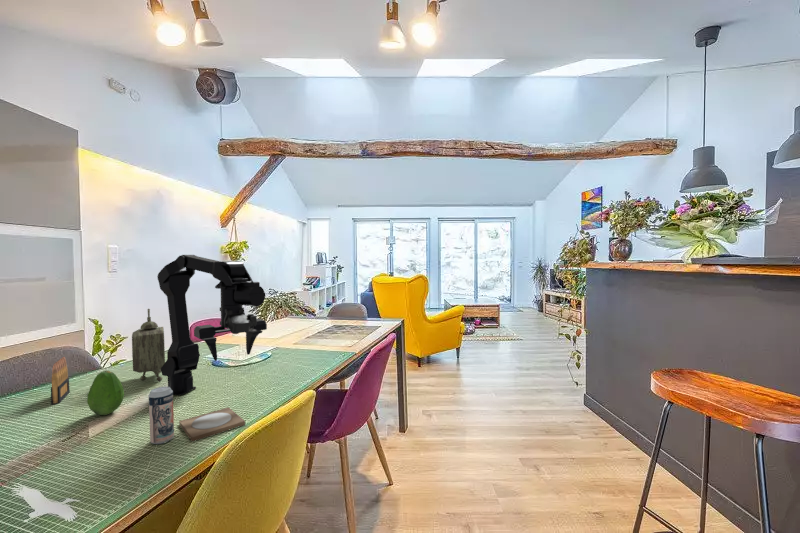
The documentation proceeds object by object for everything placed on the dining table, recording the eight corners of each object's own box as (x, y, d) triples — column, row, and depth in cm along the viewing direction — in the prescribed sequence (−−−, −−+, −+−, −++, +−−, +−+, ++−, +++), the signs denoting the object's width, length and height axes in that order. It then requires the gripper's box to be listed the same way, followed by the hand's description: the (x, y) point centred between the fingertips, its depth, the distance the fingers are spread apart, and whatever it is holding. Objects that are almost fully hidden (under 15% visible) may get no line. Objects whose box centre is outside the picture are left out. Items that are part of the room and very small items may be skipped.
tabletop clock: (165, 381, 127) (163, 309, 126) (133, 387, 122) (130, 312, 121) (164, 371, 139) (162, 305, 138) (134, 376, 134) (132, 308, 133)
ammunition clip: (59, 403, 109) (57, 363, 109) (51, 404, 108) (49, 364, 108) (69, 392, 118) (68, 355, 118) (62, 393, 117) (60, 356, 117)
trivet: (179, 424, 93) (179, 420, 93) (228, 410, 102) (228, 406, 102) (192, 441, 85) (192, 436, 85) (245, 424, 93) (244, 420, 93)
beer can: (156, 447, 82) (154, 394, 82) (146, 442, 85) (144, 390, 84) (178, 438, 86) (176, 387, 86) (168, 433, 89) (166, 384, 88)
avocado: (100, 421, 96) (98, 376, 96) (81, 417, 99) (79, 373, 98) (131, 409, 103) (130, 367, 103) (113, 406, 106) (111, 365, 106)
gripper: (205, 310, 95) (206, 370, 95) (274, 304, 107) (275, 356, 108) (192, 306, 103) (193, 361, 103) (258, 300, 115) (259, 349, 116)
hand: (232, 357), depth 107 cm, fingers open, 9 cm apart
